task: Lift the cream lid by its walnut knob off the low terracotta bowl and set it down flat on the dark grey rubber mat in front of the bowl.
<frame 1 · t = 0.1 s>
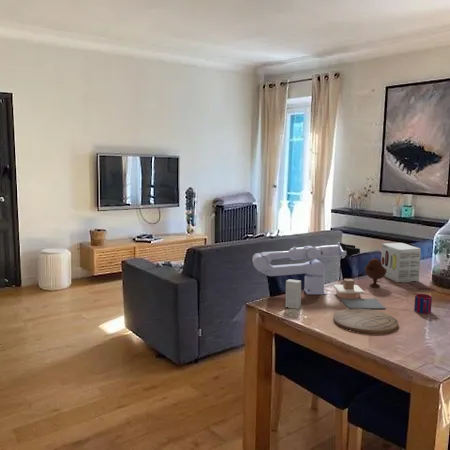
hand: (357, 249, 224), 22 cm above the table, tool horizontal, fingers open, 7 cm apart
skincare box: (293, 307, 205), on the table
cover: (348, 289, 221), point 3 cm above the table, touching bowl
ice cream bowl: (374, 287, 237), on the table
mat: (362, 304, 209), on the table
trivet: (364, 323, 187), on the table
bowl: (348, 295, 222), on the table
supplement box: (398, 278, 255), on the table
mug: (422, 312, 199), on the table
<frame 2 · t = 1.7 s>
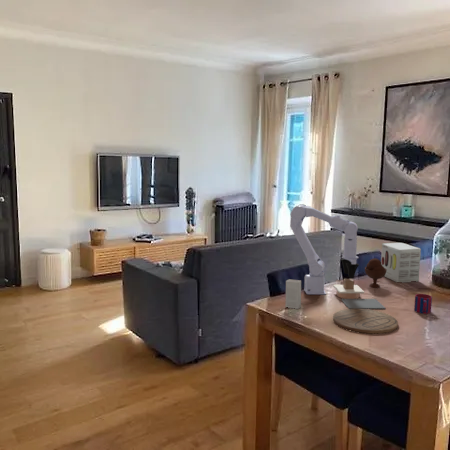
hand: (349, 275, 220), 10 cm above the table, tool pointing down, fingers open, 7 cm apart
nothing on the table moved.
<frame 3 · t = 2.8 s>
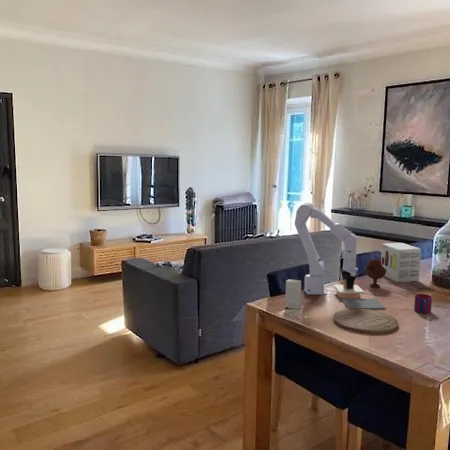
hand: (348, 287, 221), 4 cm above the table, tool pointing down, fingers closed on cover, 4 cm apart
cover: (348, 289, 221), point 3 cm above the table, touching bowl, gripper
everything else where it was.
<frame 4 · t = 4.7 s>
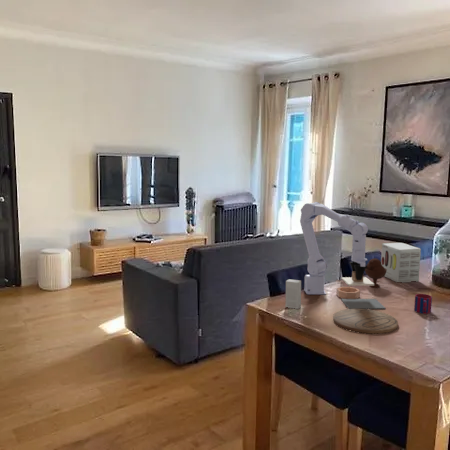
hand: (357, 278, 213), 11 cm above the table, tool pointing down, fingers closed on cover, 4 cm apart
cover: (357, 282, 213), point 9 cm above the table, touching gripper
everything else where it was.
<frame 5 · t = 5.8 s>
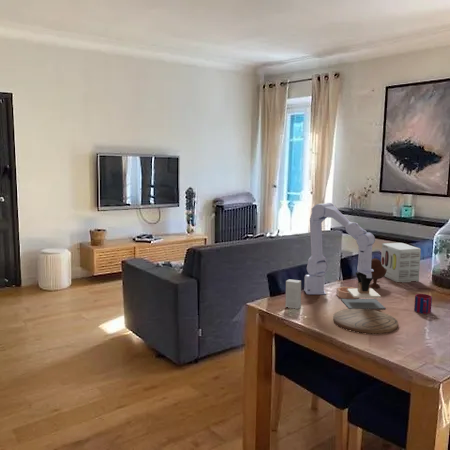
hand: (363, 289, 208), 7 cm above the table, tool pointing down, fingers closed on cover, 4 cm apart
cover: (363, 293, 208), point 5 cm above the table, touching gripper
everything else where it was.
when the fingers open (3 cm above the table, at t = 6.9 s): cover stays where it is, resting on mat.
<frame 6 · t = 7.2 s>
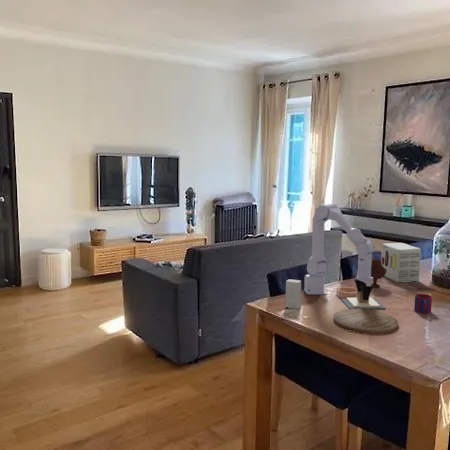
hand: (362, 297, 209), 3 cm above the table, tool pointing down, fingers open, 7 cm apart
cover: (362, 303, 209), point 1 cm above the table, touching mat
everything else where it was.
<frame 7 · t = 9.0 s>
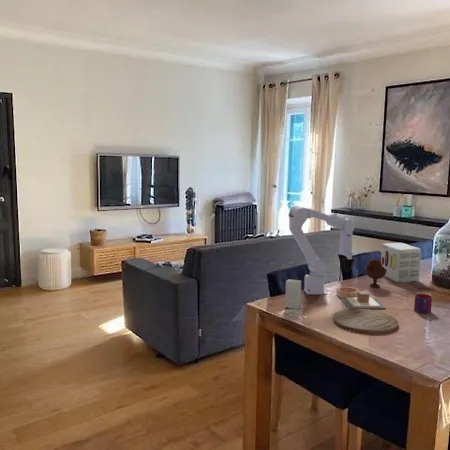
hand: (345, 270, 228), 10 cm above the table, tool pointing down, fingers open, 7 cm apart
nothing on the table moved.
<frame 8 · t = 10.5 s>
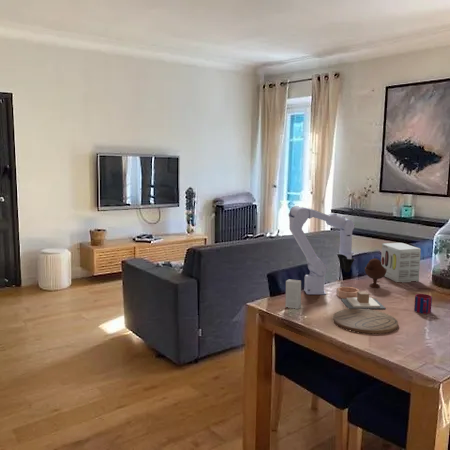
hand: (345, 270, 229), 10 cm above the table, tool pointing down, fingers open, 7 cm apart
nothing on the table moved.
at the end: cover inside the target area on the mat (0.0 cm from its centre), point 0.6 cm above the mat's base; cover touching mat; the gripper is holding nothing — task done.
